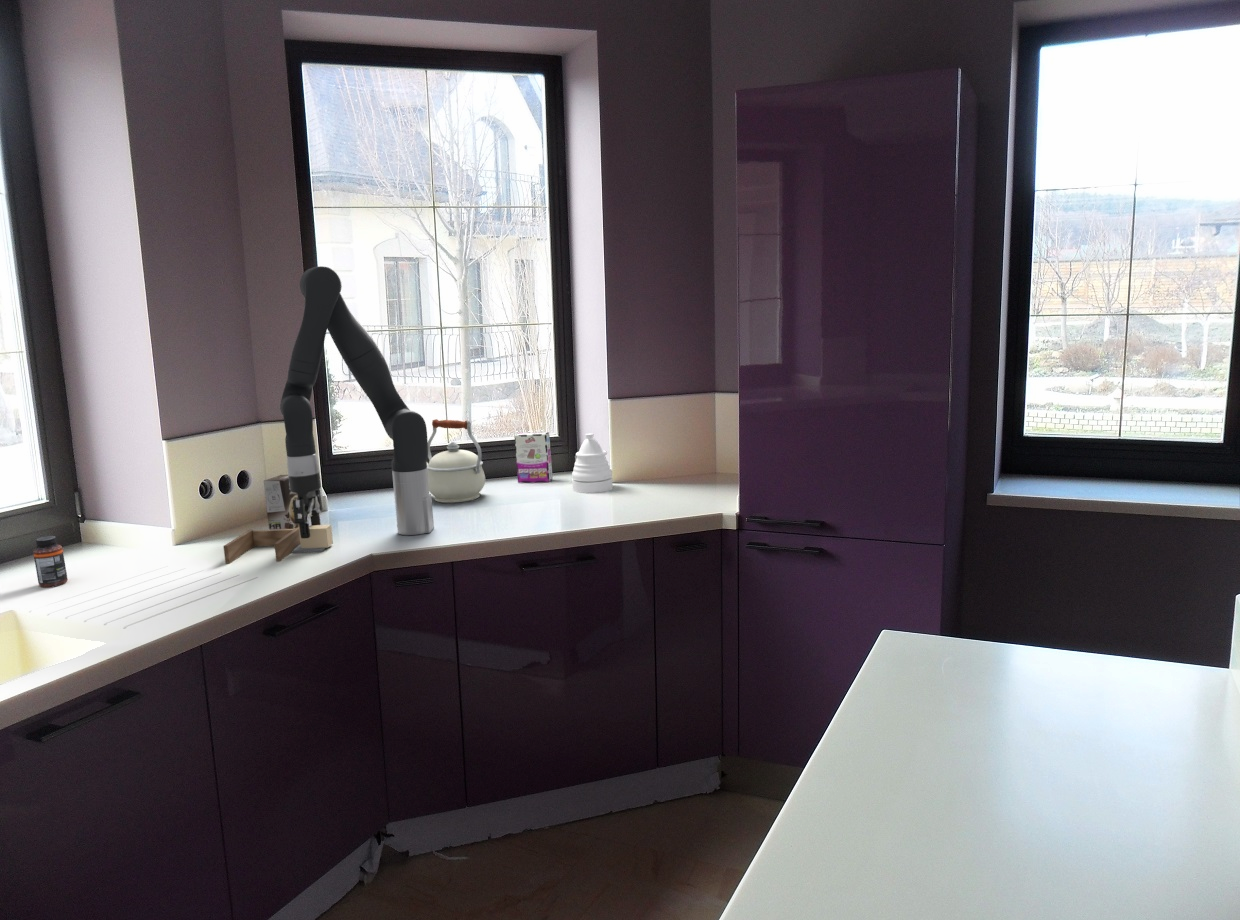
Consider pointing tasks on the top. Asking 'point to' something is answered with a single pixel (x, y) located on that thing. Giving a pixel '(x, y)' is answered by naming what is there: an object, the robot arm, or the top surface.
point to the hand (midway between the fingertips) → (311, 533)
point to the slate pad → (307, 549)
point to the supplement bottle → (49, 562)
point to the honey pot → (591, 468)
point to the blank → (318, 537)
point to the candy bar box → (533, 457)
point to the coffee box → (280, 503)
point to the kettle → (455, 468)
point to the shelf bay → (263, 543)
